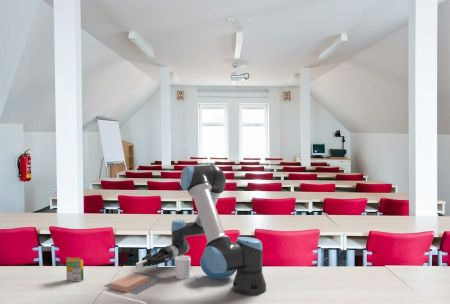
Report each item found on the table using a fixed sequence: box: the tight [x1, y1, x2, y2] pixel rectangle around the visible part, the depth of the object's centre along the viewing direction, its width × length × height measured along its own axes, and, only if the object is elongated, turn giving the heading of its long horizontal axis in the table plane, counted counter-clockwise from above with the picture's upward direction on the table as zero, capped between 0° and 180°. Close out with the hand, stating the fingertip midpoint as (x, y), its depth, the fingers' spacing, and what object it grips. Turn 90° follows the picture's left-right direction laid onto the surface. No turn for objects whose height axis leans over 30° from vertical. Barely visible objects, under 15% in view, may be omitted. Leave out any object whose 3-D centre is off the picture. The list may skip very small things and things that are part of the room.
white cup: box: [174, 254, 192, 280], centre depth 195 cm, size 8×8×10 cm
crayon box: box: [65, 256, 84, 282], centre depth 193 cm, size 7×3×12 cm, turn 84°
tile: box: [109, 272, 149, 293], centre depth 185 cm, size 10×2×15 cm
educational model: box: [199, 254, 237, 280], centre depth 195 cm, size 16×19×15 cm
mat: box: [104, 271, 168, 295], centre depth 188 cm, size 20×22×1 cm
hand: (137, 266), depth 189 cm, fingers closed
